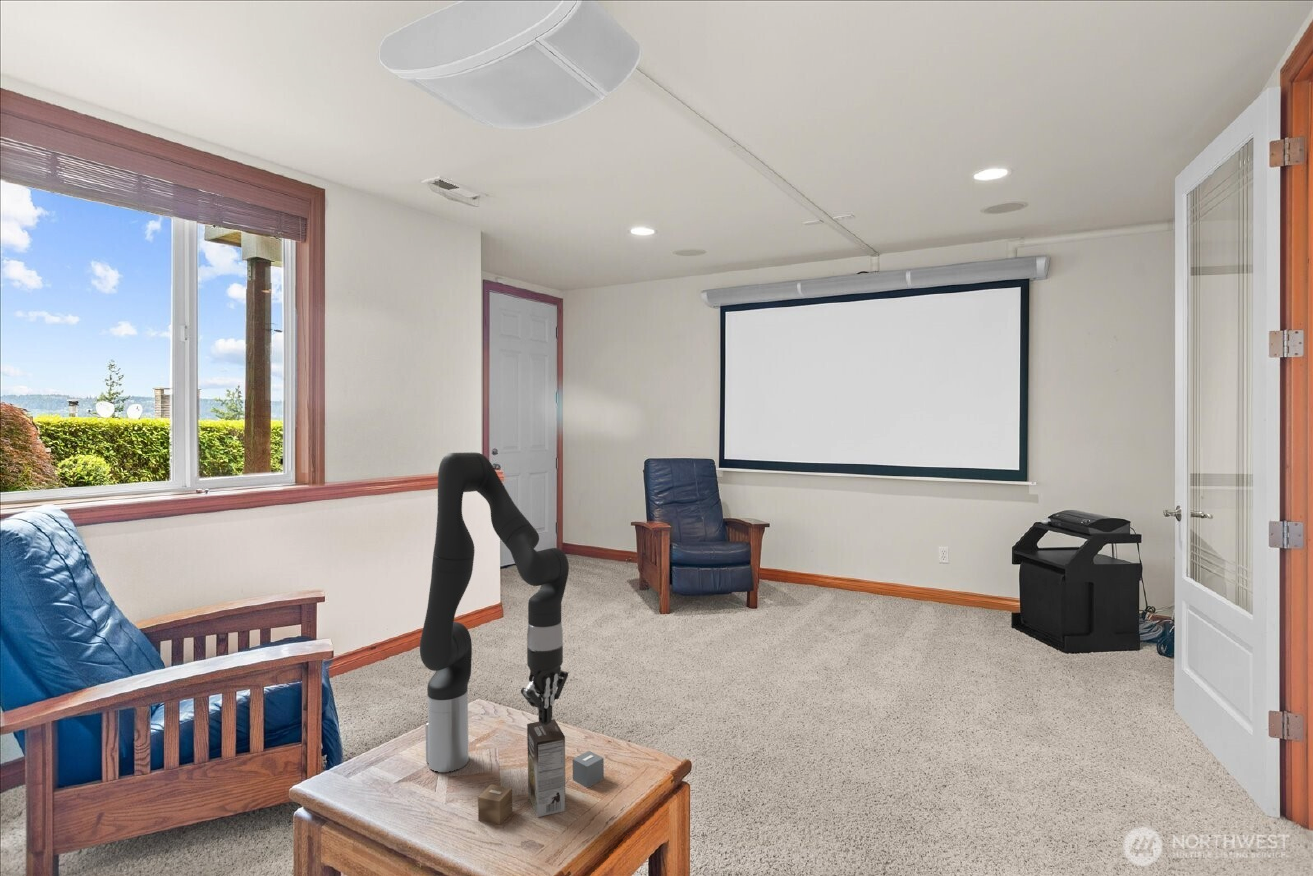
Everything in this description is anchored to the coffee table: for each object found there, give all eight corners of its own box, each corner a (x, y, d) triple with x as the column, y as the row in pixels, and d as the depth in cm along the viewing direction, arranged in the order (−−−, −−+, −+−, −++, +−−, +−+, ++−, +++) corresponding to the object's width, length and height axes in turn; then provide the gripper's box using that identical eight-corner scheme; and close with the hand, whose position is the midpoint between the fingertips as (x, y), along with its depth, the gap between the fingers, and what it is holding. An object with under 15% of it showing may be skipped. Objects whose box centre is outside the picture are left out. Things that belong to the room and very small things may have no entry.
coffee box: (527, 795, 144) (526, 723, 144) (555, 788, 147) (555, 717, 146) (536, 818, 136) (535, 742, 135) (566, 811, 138) (565, 736, 138)
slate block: (572, 780, 150) (572, 758, 150) (589, 771, 154) (588, 750, 154) (587, 788, 147) (587, 766, 147) (603, 779, 151) (603, 757, 150)
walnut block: (478, 821, 135) (478, 796, 135) (491, 807, 140) (491, 783, 140) (499, 825, 134) (499, 800, 134) (512, 811, 139) (512, 787, 138)
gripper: (552, 631, 148) (552, 707, 148) (509, 649, 136) (510, 731, 137) (578, 637, 144) (578, 715, 144) (536, 656, 132) (537, 740, 133)
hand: (545, 722), depth 141 cm, fingers closed
